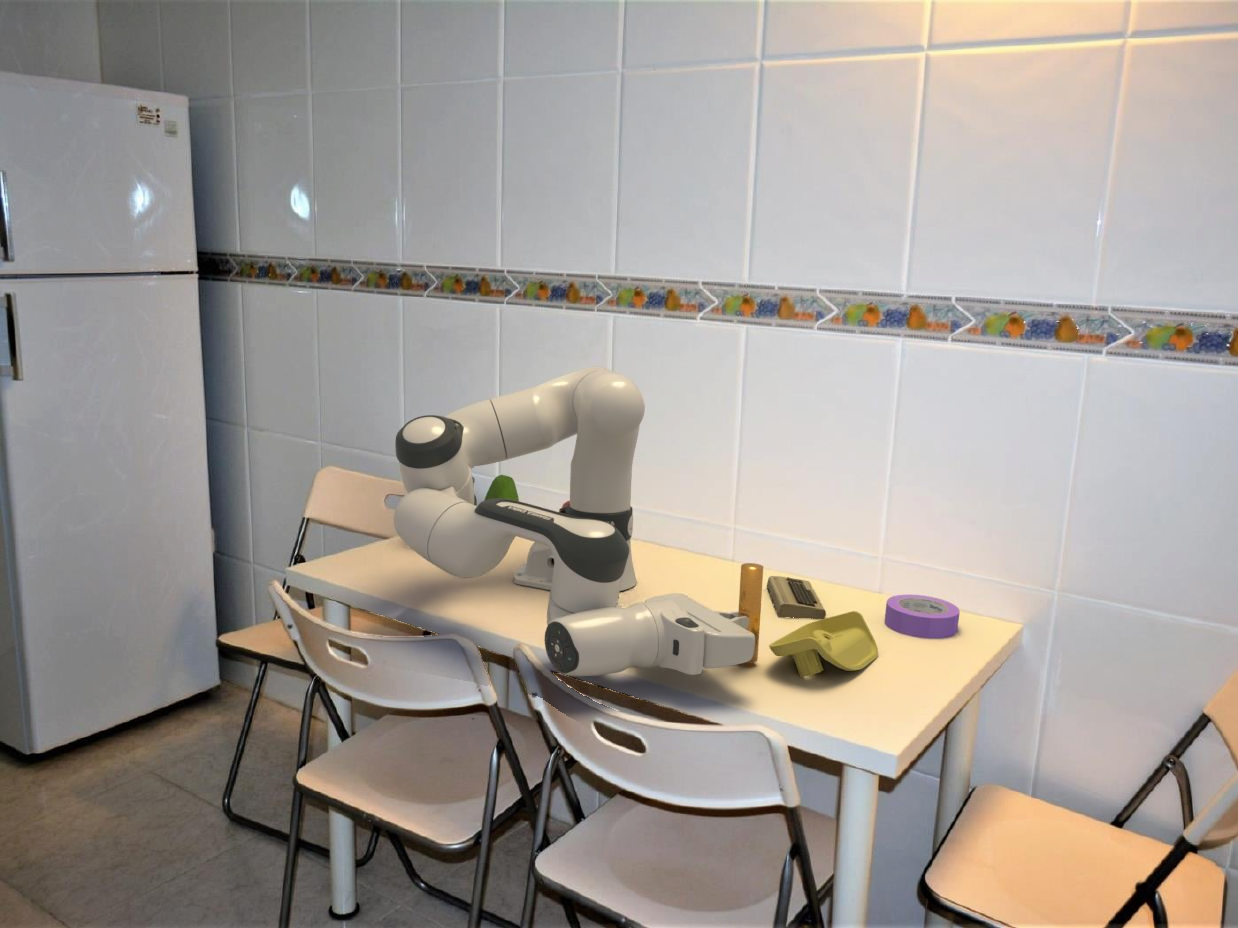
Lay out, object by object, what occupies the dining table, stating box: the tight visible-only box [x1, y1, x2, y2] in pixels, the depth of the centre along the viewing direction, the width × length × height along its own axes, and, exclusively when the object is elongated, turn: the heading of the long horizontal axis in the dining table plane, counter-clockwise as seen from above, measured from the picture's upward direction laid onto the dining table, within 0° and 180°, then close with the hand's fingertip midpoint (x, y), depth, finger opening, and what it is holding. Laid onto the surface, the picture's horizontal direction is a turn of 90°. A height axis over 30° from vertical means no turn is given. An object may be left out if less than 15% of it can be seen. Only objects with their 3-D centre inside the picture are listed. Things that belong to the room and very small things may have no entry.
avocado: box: [483, 474, 520, 501], centre depth 222 cm, size 8×8×12 cm
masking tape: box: [884, 594, 961, 640], centre depth 169 cm, size 12×12×4 cm
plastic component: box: [768, 610, 879, 678], centre depth 151 cm, size 20×7×10 cm
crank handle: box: [737, 562, 764, 664], centre depth 152 cm, size 15×4×14 cm, turn 53°
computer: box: [766, 575, 827, 620], centre depth 179 cm, size 16×8×3 cm, turn 179°
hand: (743, 619), depth 148 cm, fingers closed
